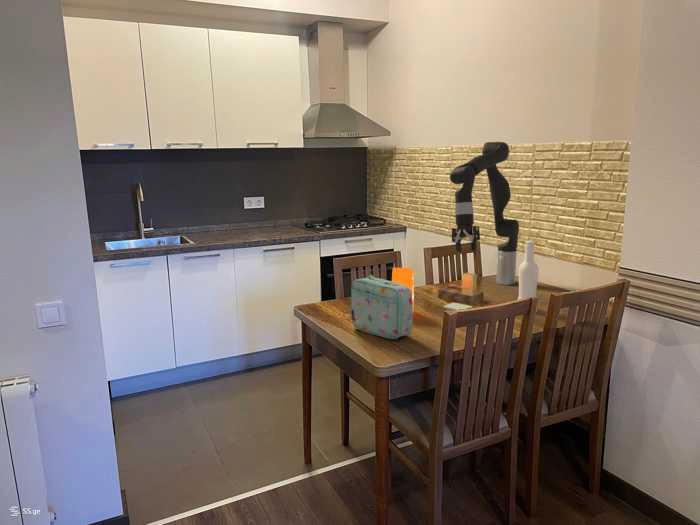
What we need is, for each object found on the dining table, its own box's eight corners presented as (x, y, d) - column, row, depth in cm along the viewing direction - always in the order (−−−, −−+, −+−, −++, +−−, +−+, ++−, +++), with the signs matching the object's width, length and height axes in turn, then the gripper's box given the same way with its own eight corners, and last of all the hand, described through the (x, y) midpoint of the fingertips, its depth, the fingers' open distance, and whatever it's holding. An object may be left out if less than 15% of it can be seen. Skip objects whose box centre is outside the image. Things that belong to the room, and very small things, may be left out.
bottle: (532, 313, 209) (537, 243, 203) (513, 310, 214) (517, 241, 208) (538, 308, 216) (543, 240, 209) (520, 305, 220) (523, 238, 214)
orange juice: (412, 316, 209) (412, 270, 205) (391, 315, 211) (391, 269, 207) (413, 310, 217) (414, 266, 212) (393, 310, 218) (393, 265, 214)
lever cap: (461, 294, 226) (462, 273, 224) (465, 292, 228) (465, 272, 226) (472, 296, 222) (473, 275, 220) (475, 294, 225) (476, 274, 223)
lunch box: (345, 327, 197) (344, 275, 193) (363, 321, 204) (363, 270, 200) (397, 344, 179) (397, 287, 174) (415, 337, 186) (415, 281, 181)
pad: (443, 307, 220) (443, 306, 220) (452, 303, 226) (452, 302, 226) (463, 312, 213) (463, 310, 213) (472, 307, 219) (472, 306, 219)
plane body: (437, 297, 235) (437, 286, 234) (449, 293, 242) (449, 281, 241) (472, 305, 223) (472, 292, 222) (483, 300, 230) (483, 287, 229)
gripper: (483, 212, 209) (485, 250, 209) (458, 215, 221) (460, 251, 221) (470, 212, 205) (472, 251, 205) (446, 215, 217) (448, 252, 217)
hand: (466, 251), depth 213 cm, fingers open, 8 cm apart
